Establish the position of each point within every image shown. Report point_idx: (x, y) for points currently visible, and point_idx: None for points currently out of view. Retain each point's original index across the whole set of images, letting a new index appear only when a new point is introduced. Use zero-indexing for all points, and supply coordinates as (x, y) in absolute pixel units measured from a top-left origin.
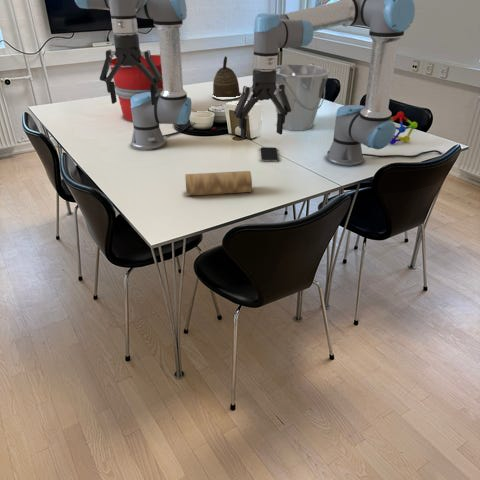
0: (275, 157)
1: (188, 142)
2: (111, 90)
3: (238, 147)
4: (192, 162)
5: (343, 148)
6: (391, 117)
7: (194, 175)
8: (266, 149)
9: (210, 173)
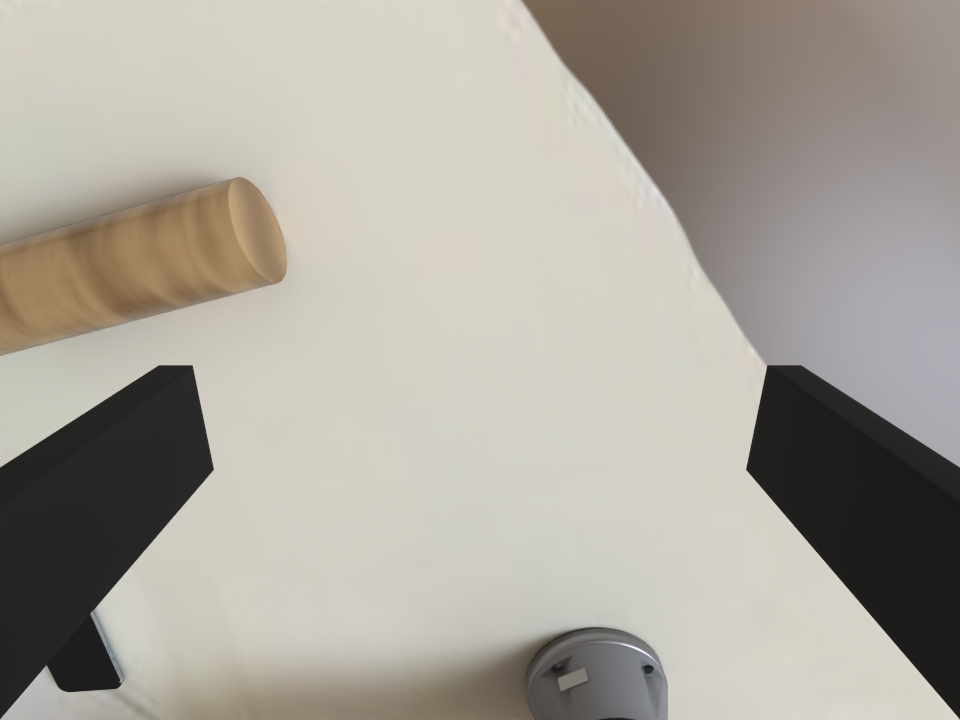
0: None
1: (436, 711)
2: (927, 468)
3: (221, 687)
4: (360, 540)
5: None
6: None
7: (188, 241)
8: (92, 672)
9: (115, 277)
